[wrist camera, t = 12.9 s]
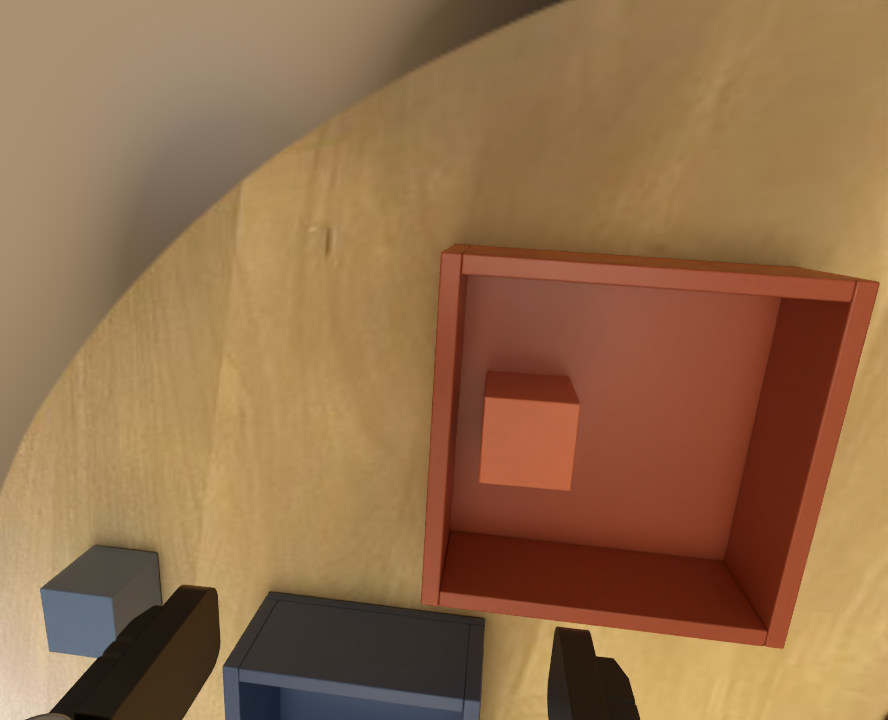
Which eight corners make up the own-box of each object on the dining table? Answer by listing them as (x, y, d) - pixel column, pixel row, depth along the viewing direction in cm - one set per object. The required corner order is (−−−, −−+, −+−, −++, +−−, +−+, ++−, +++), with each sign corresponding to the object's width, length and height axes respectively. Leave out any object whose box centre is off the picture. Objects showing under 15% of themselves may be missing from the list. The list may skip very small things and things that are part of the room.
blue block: (100, 602, 34) (48, 651, 30) (93, 544, 33) (39, 588, 29) (162, 610, 34) (118, 661, 30) (157, 552, 33) (111, 597, 29)
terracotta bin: (435, 535, 30) (420, 604, 25) (453, 243, 26) (440, 251, 21) (732, 568, 29) (784, 649, 24) (799, 267, 25) (881, 281, 20)
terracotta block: (481, 446, 28) (477, 483, 24) (487, 370, 27) (484, 396, 23) (561, 453, 28) (571, 492, 24) (570, 376, 27) (581, 403, 23)
